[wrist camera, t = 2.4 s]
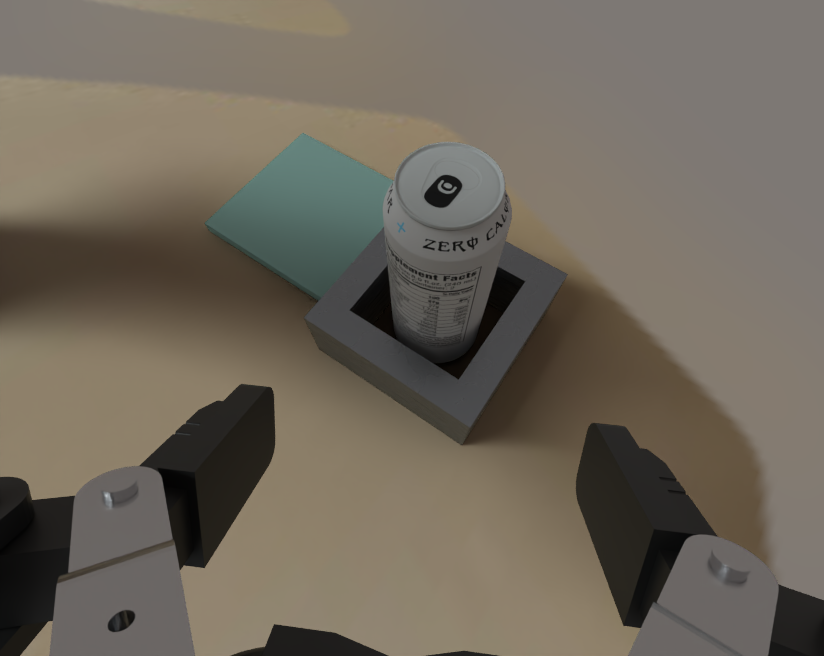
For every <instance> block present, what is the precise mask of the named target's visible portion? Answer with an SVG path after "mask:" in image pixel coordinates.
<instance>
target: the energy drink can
mask: <svg viewBox="0 0 824 656" xmlns="http://www.w3.org/2000/svg"><path fill="white" fill-rule="evenodd" d="M511 219H512V208H511V204H510V199H509V197H508V195H507V193H506V190H505V180H504V175H503V173H502V171H501V169H500V167H499V166H498V164H497V163H496V162H495V161H494V159H492V158H491V157H490V156H489V155H488V154H486V153H485V152H483V151H481V150H480V149H478V148H475V147H473V146H470V145H467V144H463V143H457V142H438V143H434V144H429V145H426V146H424V147H421V148H419V149H417V150H415V151H414V152H412V153H410V154H409V155H408V156H407V157H406V158H405V159H404V160H403V161H402V163H401V164H400V165H399V167H398V169H397V171H396V174H395V179H394V182H393V183H392V184H391V186H390V187H389V189H388V191H387V193H386V195H385V198H384V203H383V221H384V231H385V241H386V252H387V262H388V273H389V283H390V294H391V304H392V314H393V325H394V332H395V335H396V338H397V340H398V341H399V342H400V343H402V344H403V345H405V346H406V347H408V348H410V349H411V350H413V351H414V352H416V353H417V354H419V355H421V356H422V357H424V358H425V359H427V360H428V361H430V362H432V363H445V362H449V361H453V360H455V359H457V358H459V357H461V356H462V355H463V354H465V353H466V352H467V351H468V350H469V349H470V348H471V346H472V345H473V343H474V341H475V340H476V337H477V333H478V330H479V327H480V323H481V320H482V317H483V313H484V310H485V307H486V303H487V300H488V297H489V293H490V290H491V287H492V283H493V280H494V277H495V273H496V270H497V267H498V263H499V260H500V257H501V253H502V250H503V247H504V243H505V240H506V237H507V233H508V230H509V226H510V223H511Z"/></svg>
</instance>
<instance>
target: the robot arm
mask: <svg viewBox="0 0 824 656" xmlns="http://www.w3.org/2000/svg"><path fill="white" fill-rule="evenodd" d="M274 448H275V416H274V394H273V390H272V388H271V387H264V386H255V385H246V384H241V385H239V386H238V387H237V388H236V389H235V390H234V391H233V392H232V393H231V394H230V395H229V396H228V397H227V398H226V399H225V400H224V401H216V402H214V403H212V404H210V405H208V406H206V407H204V408H202V409H200V410H198V411H197V412H196V413H195V414H194V415H193V416H192V417H191V418H190V419H189V420H187V421H186V424H183V425H182V426H181V427H180V428H179V429H178V430H177V431H176V433H175V435H174V434H173V435H172V436H171V437H169V438H168V439H167V440H166V441H165V442H164V443H163V444H162V445H161V446H160V447H159V448H158V449H157V450H156V451H155V452H154V453H153V454H151V455H150V456H149V457H148V458H147V459H146V460H145V461H144V462H143V463H142V464H141V465H140V466H132V467H124V468H119V469H116V470H112V471H109V472H106V473H104V474H102V475H100V476H97V477H96V478H94V479H92V480H91V481H89V482H88V483H86V484H85V485H84V486H83V487H82V488H81V489H80V490H79V491H78V492H77V494H76V496H68V497H58V498H49V499H39V500H32V498H31V494H30V490H29V487H28V484H27V483H26V482H25V481H24V480H22V479H19V478H15V477H0V656H20V655H21V654H22V652H23V651H24V650H25V649H26V648H27V646H28V645H29V644H30V643H31V642H32V640H33V639H34V638H35V637H36V636H37V634H38V633H39V632H40V631H41V630H42V628H43V627H44V626H45V625H46V623H47V622H48V621H53V625H52V635H51V645H50V654H49V656H195V652H194V647H193V641H192V636H191V630H190V624H189V619H188V613H187V608H186V602H185V597H184V591H183V586H182V580H181V575H180V570H181V568H182V567H183V565H186V566H194V567H201V568H205V566H206V565H207V563H208V562H209V560H210V558H211V557H212V555H213V554H214V552H215V550H216V549H217V547H218V546H219V544H220V542H221V541H222V539H223V538H224V536H225V535H226V533H227V531H228V530H229V528H230V527H231V525H232V523H233V522H234V520H235V519H236V517H237V515H238V514H239V512H240V511H241V509H242V507H243V506H244V504H245V503H246V501H247V499H248V498H249V496H250V495H251V493H252V491H253V490H254V488H255V487H256V485H257V483H258V482H259V480H260V479H261V477H262V475H263V474H264V472H265V471H266V469H267V467H268V466H269V464H270V462H271V459H272V457H273V453H274ZM576 495H577V500H578V504H579V506H580V509H581V512H582V514H583V517H584V520H585V523H586V525H587V528H588V531H589V533H590V536H591V539H592V542H593V544H594V547H595V550H596V552H597V555H598V558H599V560H600V563H601V566H602V569H603V571H604V574H605V577H606V579H607V582H608V585H609V588H610V590H611V593H612V596H613V598H614V601H615V604H616V607H617V609H618V612H619V615H620V617H621V620H622V623H623V626H630V627H638V628H641V629H640V631H639V633H638V635H637V638H636V640H635V642H634V644H633V646H632V648H631V650H630V652H629V655H628V656H824V600H821V599H818V598H815V597H812V596H810V595H807V594H803V593H801V592H798V591H795V590H792V589H789V588H786V587H784V586H781V585H779V584H778V582H777V580H776V578H775V576H774V574H773V573H772V572H771V570H770V569H769V568H768V567H767V566H766V565H765V564H764V563H763V562H762V561H761V560H760V559H759V558H758V557H756V556H755V555H754V554H752V553H751V552H749V551H748V550H746V549H745V548H743V547H741V546H739V545H737V544H735V543H733V542H731V541H729V540H726V539H723V538H720V537H718V536H717V535H716V534H715V532H714V531H713V529H712V528H711V527H710V525H709V524H708V522H707V521H706V520H705V518H704V517H703V515H702V514H701V513H700V511H699V510H698V508H697V507H696V506H695V504H694V503H693V501H692V500H691V499H690V497H689V496H688V495H686V492H685V490H684V489H683V487H682V486H681V485H680V483H679V482H676V478H675V476H674V475H673V473H672V472H671V471H670V469H669V468H668V466H667V465H666V464H665V463H664V462H663V461H662V460H660V459H659V458H658V457H656V456H655V455H654V454H653V453H651V452H650V451H649V450H647V449H641V448H639V446H638V445H637V443H636V442H635V440H634V439H633V437H632V436H631V434H630V433H629V431H628V430H627V428H626V427H624V426H617V425H608V424H599V423H592V424H591V425H590V426H589V428H588V431H587V434H586V439H585V443H584V447H583V452H582V456H581V460H580V464H579V469H578V473H577V479H576ZM231 656H388V655H385V654H383V653H381V652H378V651H376V650H374V649H371V648H369V647H367V646H364V645H362V644H360V643H357V642H355V641H353V640H350V639H348V638H346V637H343V636H341V635H339V634H336V633H332V632H325V631H318V630H311V629H304V628H297V627H289V626H282V625H275V624H274V626H273V628H272V631H271V634H270V636H269V639H268V641H267V644H266V646H265V647H261V648H255V649H251V650H247V651H243V652H239V653H237V654H234V655H231ZM428 656H497V655H490V654H483V653H476V652H469V651H459V652H451V653H443V654H435V655H428Z"/></svg>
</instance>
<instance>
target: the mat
mask: <svg viewBox="0 0 824 656" xmlns="http://www.w3.org/2000/svg"><path fill="white" fill-rule="evenodd" d="M393 182H394V181H393V180H391V179H389V178H387V177H385V176H383V175H381V174H379V173H378V172H376V171H374V170H372V169H370V168H368V167H366V166H364V165H363V164H361V163H359V162H357V161H355V160H353V159H351V158H349V157H347V156H346V155H344V154H342V153H340V152H338V151H336V150H334V149H332V148H331V147H329V146H327V145H325V144H323V143H321V142H319V141H317V140H316V139H314V138H312V137H310V136H308V135H306V134H304V133H302V134H301V135H300V136H299V137H298V138H297V139H295V140H294V141H293V142H292V143H291V144H290V145H289V146H288V147H287V148H286V149H285V150H283V151H282V152H281V153H280V154H279V155H278V156H277V157H276V158H275V159H274V160H273V161H271V162H270V163H269V164H268V165H267V166H266V167H265V168H264V169H263V170H262V171H261V172H259V173H258V174H257V175H256V176H255V177H254V178H253V179H252V180H251V181H250V182H249V183H247V184H246V185H245V186H244V187H243V188H242V189H241V190H240V191H239V192H238V193H237V194H235V195H234V196H233V197H232V198H231V199H230V200H229V201H228V202H227V203H226V204H225V205H223V206H222V207H221V208H220V209H219V210H218V211H217V212H216V213H215V214H214V215H213V216H211V217H210V218H209V219H208V220H207V221H206V222H205V225H206V226H207V228H208V229H209V231H211V232H212V233H214V234H215V235H217V236H218V237H220V238H221V239H223V240H225V241H226V242H228V243H229V244H231V245H232V246H234V247H235V248H237V249H239V250H240V251H242V252H243V253H245V254H246V255H248V256H249V257H251V258H253V259H254V260H256V261H257V262H259V263H260V264H262V265H263V266H265V267H267V268H268V269H270V270H271V271H273V272H274V273H276V274H277V275H279V276H281V277H282V278H284V279H285V280H287V281H288V282H290V283H291V284H293V285H295V286H296V287H298V288H299V289H301V290H302V291H304V292H305V293H307V294H309V295H310V296H312V297H313V298H315V299H316V300H318V301H319V300H320V299H321V298H322V296H323V295H324V294H325V293H326V292H327V291H328V290H329V289H330V287H331V286H332V285H333V284H334V283H335V282H336V281H337V279H338V278H339V277H340V276H341V275H342V274H343V273H344V272H345V270H346V269H347V268H348V267H349V266H350V265H351V264H352V262H353V261H354V260H355V259H356V258H357V257H358V256H359V254H360V253H361V252H362V251H363V250H364V249H365V248H366V247H367V245H368V244H369V243H370V242H371V241H372V240H373V239H374V237H375V236H376V235H377V234H378V233H379V232H380V231H381V230H382V228H383V227H384V221H383V203H384V198H385V195H386V193H387V191H388V189H389V187H390V186H391V184H392V183H393Z"/></svg>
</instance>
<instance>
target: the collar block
mask: <svg viewBox="0 0 824 656" xmlns="http://www.w3.org/2000/svg"><path fill="white" fill-rule="evenodd" d="M567 275H568V274H566V273H564V272H562V271H560V270H558V269H557V268H555V267H553V266H551V265H549V264H547V263H545V262H543V261H542V260H540V259H538V258H536V257H534V256H532V255H530V254H528V253H527V252H525V251H523V250H521V249H519V248H517V247H515V246H513V245H512V244H510V243H508V242H506V241H505V243H504V247H503V250H502V253H501V257H500V260H499V263H498V267H497V270H496V273H495V277H494V280H493V283H492V287H491V290H490V293H489V297H488V300H487V303H488V304H490V305H491V306H493V307H495V308H496V309H498V310H500V311H502V312H503V313H504V314H503V315H502V317H501V318H500V320H499V321H498V323H497V324H496V325H495V327H494V328H493V330H492V331H491V333H490V334H489V336H488V337H487V339H486V340H485V342H484V343H483V345H482V346H481V348H480V349H479V351H478V352H477V354H476V355H475V356H474V358H473V359H472V361H471V362H470V364H469V365H468V367H467V368H466V370H465V371H464V373H463V374H462V376H461V377H460V379H459V380H458V379H457V378H455V377H454V376H452V375H450V374H449V373H447V372H446V371H444V370H443V369H441V368H439V367H438V366H436V365H435V364H433V363H432V362H430V361H428V360H427V359H425V358H424V357H422V356H421V355H419V354H417V353H416V352H414V351H413V350H411V349H410V348H408V347H406V346H405V345H403V344H402V343H400V342H399V341H397V340H395V339H394V338H392V337H391V336H389V335H388V334H386V333H384V332H383V331H381V330H380V329H378V328H377V327H375V326H373V323H374V322H375V321H376V320H377V318H378V317H379V316H380V315H381V313H382V312H383V311H384V310H385V309H386V307H387V306H388V305H389V304H390V302H391V294H390V283H389V273H388V262H387V252H386V241H385V231H384V227H383V228H382V230H381V231H380V232H379V233H378V234H377V235H376V236H375V237H374V239H373V240H372V241H371V242H370V243H369V244H368V245H367V247H366V248H365V249H364V250H363V251H362V252H361V253H360V254H359V256H358V257H357V258H356V259H355V260H354V261H353V262H352V264H351V265H350V266H349V267H348V268H347V269H346V270H345V272H344V273H343V274H342V275H341V276H340V277H339V278H338V279H337V281H336V282H335V283H334V284H333V285H332V286H331V287H330V289H329V290H328V291H327V292H326V293H325V294H324V295H323V296H322V298H321V299H320V300H319V301H318V302H317V303H316V304H315V306H314V307H313V308H312V309H311V310H310V311H309V312H308V314H307V315H306V316H305V317H304V319H305V321H306V323H307V325H308V327H309V329H310V331H311V333H312V335H313V338H314V340H315V342H316V344H317V346H318V348H319V349H320V350H321V351H323V352H324V353H326V354H327V355H329V356H330V357H332V358H333V359H335V360H336V361H338V362H339V363H341V364H342V365H344V366H345V367H347V368H348V369H349V370H351V371H352V372H354V373H355V374H357V375H358V376H360V377H361V378H363V379H364V380H366V381H367V382H369V383H370V384H372V385H373V386H375V387H376V388H378V389H379V390H381V391H382V392H384V393H385V394H386V395H388V396H389V397H391V398H392V399H394V400H395V401H397V402H398V403H400V404H401V405H403V406H404V407H406V408H407V409H409V410H410V411H412V412H413V413H415V414H416V415H418V416H419V417H420V418H422V419H423V420H425V421H426V422H428V423H429V424H431V425H432V426H434V427H435V428H437V429H438V430H440V431H441V432H443V433H444V434H446V435H447V436H449V437H450V438H452V439H453V440H454V441H456V442H457V443H459V444H460V445H462V444H463V443H464V441H465V439H466V438H467V436H468V435H469V433H470V432H471V430H472V428H473V427H474V425H475V424H476V422H477V421H478V419H479V417H480V416H481V414H482V413H483V411H484V409H485V408H486V406H487V405H488V403H489V402H490V400H491V398H492V397H493V395H494V394H495V392H496V391H497V389H498V387H499V386H500V384H501V383H502V381H503V380H504V378H505V376H506V375H507V373H508V372H509V370H510V368H511V367H512V365H513V364H514V362H515V361H516V359H517V357H518V356H519V354H520V353H521V351H522V350H523V348H524V346H525V345H526V343H527V342H528V340H529V339H530V337H531V335H532V334H533V332H534V331H535V329H536V327H537V326H538V324H539V323H540V321H541V320H542V318H543V316H544V315H545V313H546V312H547V310H548V308H549V307H550V305H551V303H552V301H553V300H554V298H555V296H556V294H557V293H558V291H559V289H560V287H561V286H562V284H563V282H564V280H565V279H566V277H567Z"/></svg>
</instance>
